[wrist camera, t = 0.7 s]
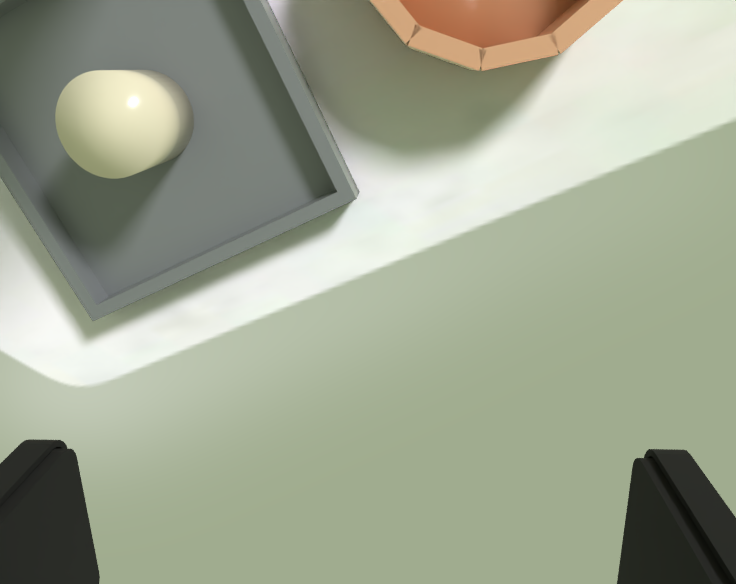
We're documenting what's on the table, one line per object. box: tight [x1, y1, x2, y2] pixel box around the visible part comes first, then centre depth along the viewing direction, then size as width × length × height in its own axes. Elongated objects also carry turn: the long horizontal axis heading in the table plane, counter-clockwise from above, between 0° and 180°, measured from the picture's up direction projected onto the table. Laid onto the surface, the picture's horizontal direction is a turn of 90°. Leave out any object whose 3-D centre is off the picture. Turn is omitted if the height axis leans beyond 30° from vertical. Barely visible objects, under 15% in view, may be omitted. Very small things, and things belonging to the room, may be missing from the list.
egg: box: [55, 70, 194, 179], centre depth 35 cm, size 5×5×6 cm
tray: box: [0, 0, 359, 321], centre depth 37 cm, size 18×18×2 cm
